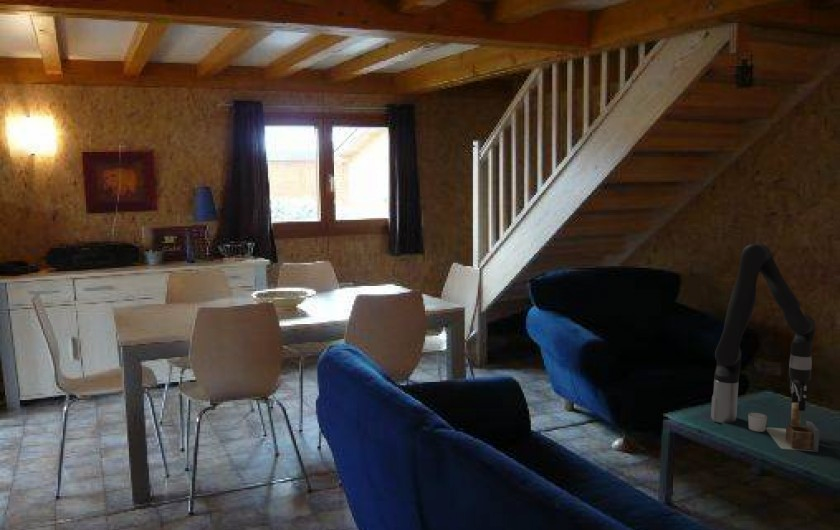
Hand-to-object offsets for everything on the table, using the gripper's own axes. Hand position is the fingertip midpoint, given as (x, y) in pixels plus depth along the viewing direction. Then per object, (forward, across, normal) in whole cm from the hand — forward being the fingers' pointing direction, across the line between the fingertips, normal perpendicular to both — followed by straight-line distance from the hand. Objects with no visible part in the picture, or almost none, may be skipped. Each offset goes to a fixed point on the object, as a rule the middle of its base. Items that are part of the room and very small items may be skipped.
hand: (798, 407), depth 268 cm
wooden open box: (+11, -13, +3) cm, 17 cm away
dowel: (+11, 0, 0) cm, 11 cm away
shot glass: (+12, +2, +14) cm, 18 cm away
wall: (+11, -13, -1) cm, 17 cm away
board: (+12, -6, +4) cm, 14 cm away
